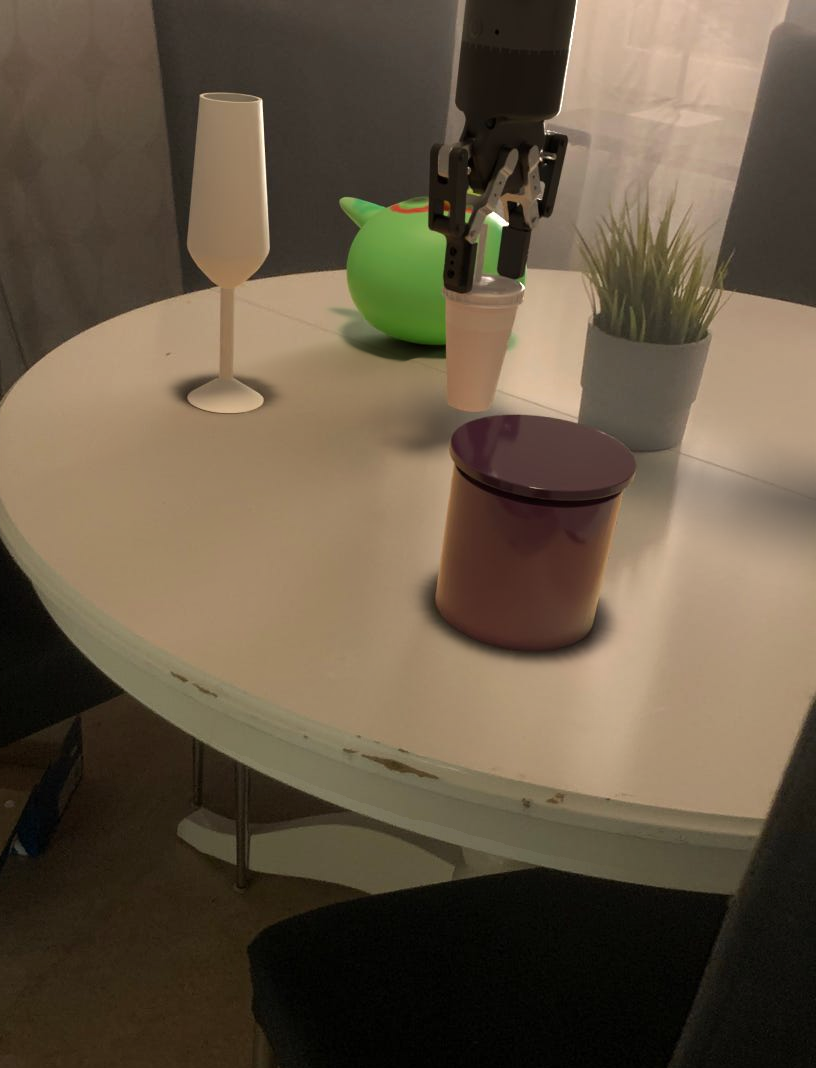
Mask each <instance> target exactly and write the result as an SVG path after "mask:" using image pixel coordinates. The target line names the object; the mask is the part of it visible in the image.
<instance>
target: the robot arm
mask: <svg viewBox="0 0 816 1068" xmlns="http://www.w3.org/2000/svg"><path fill="white" fill-rule="evenodd" d="M577 5H578V0H465V3H464V11H463V12H464V13H463V23H462V30H461V31H462V32H461V41H460V49H459V50H460V51H459V60H458V68H457V78H456V86H455V87H456V88H455V98H454V103H455V104H454V105H455V106H456V108H457V109H458V110H459V111H460V112H462V113H463V115H464V119H465V120H464V126H463V128H462V132H461V134H460V137H459V140H458V142H455V143H451V144H444V143H440V142H436V143H433V144H432V146H431V148H430V151H429V171H428V172H429V176H428V179H429V180H428V197H429V208H428V227H429V229H430V230H432V231H435V232H438V233H441V234H443V235H444V236H445V237H446V241H447V243H446V253H445V263H444V271H443V280H444V287H445V288H446V289H447V290H450V291H453V292H456V293H460V294H464V293H468V292H470V291H471V290H472V286H473V278H474V270H475V262H476V254H477V246H478V243H476V242H475V241H476V240H477V238H478V236H479V233H480V231H481V228H482V225H483V223H484V220H485V218H486V216H487V215H488V214H491V213H492V212H495V210H496V209H497V206H498V203H499V201H501V205H502V211H503V217H504V220H505V222H506V223H508V224H509V225H506V226H503V227H502V235H501V242H500V250H499V257H498V265H497V272H498V274H499V275H500V276H504V277H508V278H511V279H514V280H516V279H520V278H522V277H523V276H524V274H525V268H526V266H527V264H528V257H529V250H530V244H531V237H532V232H533V230H535V229H537V227H538V225H539V224H540V223H539V222H540V219H542V218H545V219H549V218H550V217H551V216H552V215H553V213H554V208H555V204H556V199H557V195H558V190H559V186H560V182H561V177H562V171H563V167H564V163H565V159H566V154H567V149H568V144H569V137H568V135H567V134H564V133H559V132H555V131H550V130H546V129H545V121H549V120H553V119H555V118H557V117H558V116H559V114H560V113H561V110H562V105H563V97H564V91H565V85H566V79H567V72H568V66H569V59H570V52H571V48H572V47H571V45H572V41H573V40H572V39H573V34H574V33H573V32H574V26H575V21H576V13H577ZM541 182H542V183H543V184H544V188H543V192H542V187H541ZM469 189H472V190H473V193H476V194H480V195H481V196H476V195H472V194H468V193H467V190H469ZM541 195H542V198H539V197H540V196H541ZM444 200H445V201H448V202H449V203H450V210H449V212H448V215H447V216H445V215H444ZM466 209H472V210H473V211H472V213H471V216H470V218H469V221H468V223H466V222H465V214H466Z"/></svg>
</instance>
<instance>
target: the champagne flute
mask: <svg viewBox="0 0 816 1068" xmlns="http://www.w3.org/2000/svg"><path fill="white" fill-rule="evenodd" d="M198 102H199V103H198V114H197V124H196V126H197V127H196V135H195V147H194V149H195V150H194V159H193V170H192V182H191V192H190V203H189V204H190V205H189V213H188V214H189V216H188V226H187V227H188V228H187V238H186V247H187V251H188V253H189V255H190V256H191V259H192V260H193V262H194V263H195V264H196V266H197V268H199V270H200V271H201V272H202V273H203V274H204V275H205V276H206V277H207V278H208V279H209V280H210V281H211V282H212V283H213V284H215V285H216V286H218V287H219V288H220V304H219V305H220V306H219V307H220V309H219V311H220V312H219V372H218V373H219V376H218V377H216V378H215V379H212V380H210V381H208V382H206V383H205V384H203V385H201V386H199V387H197V388H194V389H193V390H191V391H190V392H189V393H188V394H187V401H188V402H189V403H190V405H192V406H194V407H195V408H198V409H200V410H203V411H207V412H212V413H219V414H240V413H246V412H249V411H253V410H256V409H258V408H260V407H261V406H262V405H263V404H264V397H263V395H261V394H260V393H259V392H258V391H256V390H255V389H253V388H251V387H249V386H248V385H246V384H244V383H243V382H241V381H240V380H238V379H236V378H235V377H234V344H235V343H234V342H235V340H234V339H235V338H234V337H235V296H236V295H235V294H236V293H235V292H236V288H237V287H239V286H241V285H243V284H244V283H245V282H246V281H248V280H249V279H250V278H251V277H252V276H253V275H254V274H255V273H256V272H257V271H258V270H259V269H260V268H261V266H262V265H263V264H264V262H265V261H266V259H267V257H268V255H269V253H270V249H271V248H270V247H271V245H270V227H269V207H268V206H269V205H268V189H267V187H268V186H267V169H266V168H267V167H266V152H265V148H266V147H265V131H264V130H265V129H264V112H263V110H264V108H263V99H262V98H261V97H258V96H254V95H251V94H243V93H236V92H235V93H234V92H205V93H201V94H199V101H198Z"/></svg>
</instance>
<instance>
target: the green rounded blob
mask: <svg viewBox="0 0 816 1068" xmlns="http://www.w3.org/2000/svg"><path fill="white" fill-rule="evenodd" d="M467 193H468V194H472V195H476V196H481V195H480V194H476V193H473V190H472V189H471V188H468V190H467ZM338 204H339V206H340V208H341V209H342V211H343V212H344V213H345V214H346V215H347V216H348V217H349V218H350V219H351V220H352V222H354V224H355V225H356V226H357V227H358V228H359V230H358V231H357V233H356V234H355V236H354V239H353V240H352V243H351V245H350V247H349V251H348V255H347V259H346V282H347V287H348V291H349V294H350V298H351V299H352V302H353V304H354V306H355V308H356V309H357V310H358V312H359V314H360V315H361V316H362V317H363V318H364V319H365V320H366V321H367V323H369V324H370V326H372V327H374V329H377V330H378V331H380V332H382V333H383V334H385V335H387V336H390V337H391V338H395V339H398V340H400V341H404V342H407V343H412V344H417V345H424V346H446V319H445V314H446V300H445V298H444V297H443V295H442V294H441V293H442V290H443V281H444V280H443V271H444V263H445V253H446V243H447V241H446V237H445V236H444V235H443V234H441V233H438V232H435V231H432V230H430V229H429V227H428V208H429V196H417V197H413V198H412V197H411V198H409V199H407V200H404V201H401V202H397V203H395V204H393V205H390V206H387V207H385V206H382V205H378V204H376V203H372V202H369V201H366V200H363V199H360V198H356V197H350V196H344V197H342V198H340V199H339V201H338ZM449 210H450V203H449V202H448V201H445V200H444V215H445V216H447V215H448V212H449ZM472 211H473V210H472V209H466V214H465V222H466V223H468V221H469V218H470V216H471V213H472ZM483 224H488V230H487V238H486V246H485V254H484V262H483V271H482V273H486V274H494V275H499V274H498V272H497V265H498V257H499V250H500V242H501V235H502V227H503V226H506V225H509V223H506V222H505V219H503V218H502V217H501V216H500V215H498V214H497V213H495V211H493V212H492V213H491V214H488V215H487V216H486V218H485V220H484V223H483ZM479 235H480V233H479ZM475 242H476V243H479V236H478V238H477V240H476V241H475ZM477 251H478V246H477ZM476 260H477V254H476ZM527 267H528V266H527V265H526V268H525V274H524V276H523V277H522V278H520V279H516V281H518V282H519V283H521V284H522V285H523V286H524V288H526V283H527V275H528V271H527V270H528V269H527ZM475 268H476V262H475ZM474 273H475V270H474ZM499 276H500V275H499ZM513 280H514V279H513Z"/></svg>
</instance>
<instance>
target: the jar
mask: <svg viewBox="0 0 816 1068" xmlns="http://www.w3.org/2000/svg"><path fill="white" fill-rule="evenodd" d="M448 447H449V448H448V451H449V452H448V453H449V457H450V458H451V460H452V462H453V468H452V473H451V474H452V475H451V482H450V488H449V495H448V502H447V510H446V517H445V523H444V524H445V526H444V532H443V540H442V545H441V546H442V547H441V552H440V560H439V568H438V576H437V582H436V589H435V596H434V597H435V598H434V599H435V605H436V608H437V610H438V612H439V613H440V615H441V616H442V617H443V619H444V620H445V621H446V622H447V623H448V624H450V626H452V628H453V627H454V628H455V629H456V630H457V631H459V632H461V633H463V634H464V635H466V636H468V637H471V638H473V639H475V640H478V641H480V642H482V643H485V644H489V645H492V646H495V647H501V648H505V649H512V650H516V651H517V650H519V651H520V650H521V651H547V650H549V651H550V650H555V649H560V648H564V647H567V646H570V645H572V644H575V643H578V642H579V641H580V640H582V639H583V638H584V637H586V636H587V635H588V634H589V633H590V631H591V630H592V628H593V625H594V621H595V616H596V613H597V608H598V603H599V599H600V596H601V591H602V586H603V582H604V579H605V574H606V569H607V566H608V561H609V556H610V552H611V548H612V545H613V544H612V543H613V540H614V539H613V538H614V535H615V530H616V526H617V522H618V518H619V514H620V510H621V505H622V501H623V496H624V492H625V490H626V489H627V488H628V487H629V486H630V485H631V484H632V483H633V481H634V479H635V477H636V473H637V467H638V466H637V465H638V464H637V458H636V457H635V456H634V453H633V452H632V451H631V449H629V448H628V447H627V445H625V444H624V443H622V442H621V441H619V440H618V439H616V438H615V437H613V436H611V435H609V434H607V433H605V432H603V431H601V430H598V429H596V428H594V427H591V426H587V425H584V424H582V423H578V422H575V421H572V420H571V421H570V420H567V419H561V418H556V417H551V416H544V415H543V416H542V415H533V414H499V415H497V414H496V415H488V416H484V417H480V418H475V419H473V420H470V421H467V422H464V423H463V424H461V425H460V426H458V427H457V428H456V429H455V430H454V431H453V432H452V434H451V436H450V439H449V446H448Z"/></svg>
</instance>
